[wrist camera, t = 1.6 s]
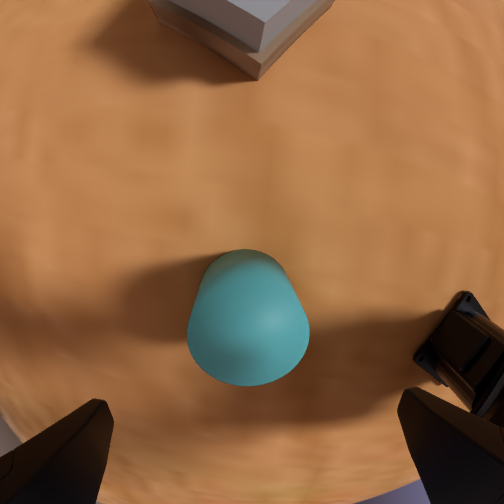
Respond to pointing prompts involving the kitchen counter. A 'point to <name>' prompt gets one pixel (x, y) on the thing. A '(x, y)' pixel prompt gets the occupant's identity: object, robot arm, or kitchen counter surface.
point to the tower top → (248, 17)
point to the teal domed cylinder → (247, 320)
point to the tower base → (229, 44)
